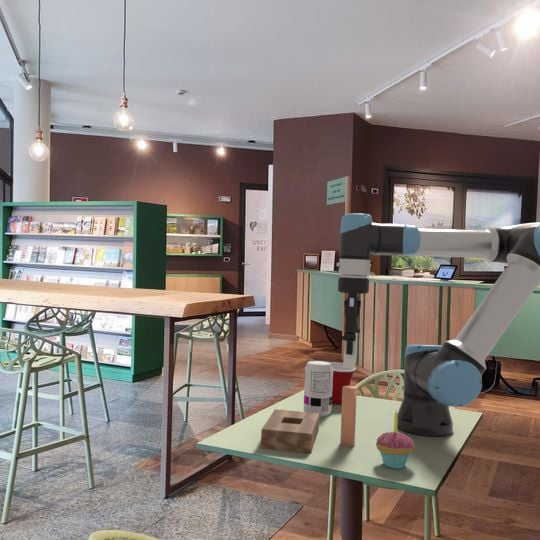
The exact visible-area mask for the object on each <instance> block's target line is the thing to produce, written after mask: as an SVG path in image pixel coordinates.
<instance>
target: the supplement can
mask: <svg viewBox="0 0 540 540" xmlns="http://www.w3.org/2000/svg"><path fill="white" fill-rule="evenodd" d="M330 362H331V361H325V360H309V361H307V363H306V365H305V367H304V385H303V386H304V389H303V390H304V391H303V392H304V394H303V412H311V413H319V418H321V417H322V418H323V417H327V416H329V415H330V414H331V413H332V408H333V407H332V405H333V404H332V384H333V368H332V366H331V363H330Z"/></svg>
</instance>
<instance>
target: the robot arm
mask: <svg viewBox="0 0 540 540" xmlns="http://www.w3.org/2000/svg"><path fill="white" fill-rule="evenodd" d="M340 222H341V223H340V230H339V234H340V235H339V262H336V264H335V265H336V267H339V268H338V275H339V277H338V279H337V291H338V292H339V293H343V294H347V297H346V299H344V302H343V303H344V304H343V306H344V307H343V308H344V317H345V323H344V334H343V335H341V339H340V340H341V341H343V360H342V361H343V362H342V363H343V368H351V369H355V368H356V359H357V357H358V354H357V353H358V335H359V334H361V328H359V325H358V323H359V316H360V312H361V307H362V300H359V299H360V296H359V295H361V294H362V295H363V294H368V293H369V291H370V279H369V278H368V277H369V276H370V275H371V274H370V273H371V255H372V256H403V257H404V256H406V257H408V256H409V257H411V256H412V257H437V258H438V257H441V258H442V257H443V258H471V259H473V258H475V259H483V260H484V261H485V262H488V263H501V264H507V266H505V268H504V269H503V271H502V273H501V274H500V275H499V277H498V278H497V280H496V281H495V283H494V284H493V285H492V286H491V288H490V289H489V291H488V293H487V294H486V295H484V298H483V299H482V300H481V302H480V303H479V304H478V306H477V307H476V309H475V310H474V312H473V313H472V314H471V316H470V317H469V319H468V320H467V321H466V323H465V324H463V327H462V328H461V330H460V331H459V332H458V334H457V335H456V337H455V338H454V339H450V340H445V341H444V343H443V344H441V345H440V344H438V345H437V344H409V345H407V346H406V347H405V354H404V370H403V372H404V373H403V397H402V400H401V402H400V405H399V408H398V411H397V412H396V413H397V429H400V430H401V431H403V432H407V433H410V434H415V435H419V436H429V437H430V436H431V437H441V436H448V435H450V434H452V433H453V431H454V430H453V429H454V423H453V419H452V415H451V411H450V408H449V407H452V408H460V407H464V406H467V405H469V404H471V403H472V402H473V401H475V400H476V399H477V398H478V397H479V395H480V393H481V392H482V391H481V390H482V388H483V382H482V379H483V378H482V376H483V374H484V373H485V372H486V370H487V365H486V358H487V357H488V355H489V354H490V353H491V352H492V350H493V349H494V348H495V346H496V344H497V343H498V342H499V340H500V339H501V337H502V336H503V335H504V333H506V331H507V329H508V327H510V326H511V323H512V322H513V321H514V319H515V318H516V316H517V315H518V314H519V312H520V311H521V309H522V308H523V307H524V305H525V304H526V302H527V301H528V300H529V298H530V297H531V296H532V294H533V293H534V292H535V290H536V289H537V287H538V286H539V285H540V221H538V222H527V223H519V224H515V225H514V224H512V225H509V226H500V227H498V226H497V227H493V226H491V227H490V226H489V227H487V228H486V229H484V230H472V229H444V228H443V229H437V228H419V227H417V226H416V225H413V224H412V225H411V224H406V223H404V224H402V223H401V224H399V223H376V222H373V218H372V215H370V214H368V213H357V212H356V213H355V212H354V213H345V214H344V215H342V217H341V219H340Z"/></svg>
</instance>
